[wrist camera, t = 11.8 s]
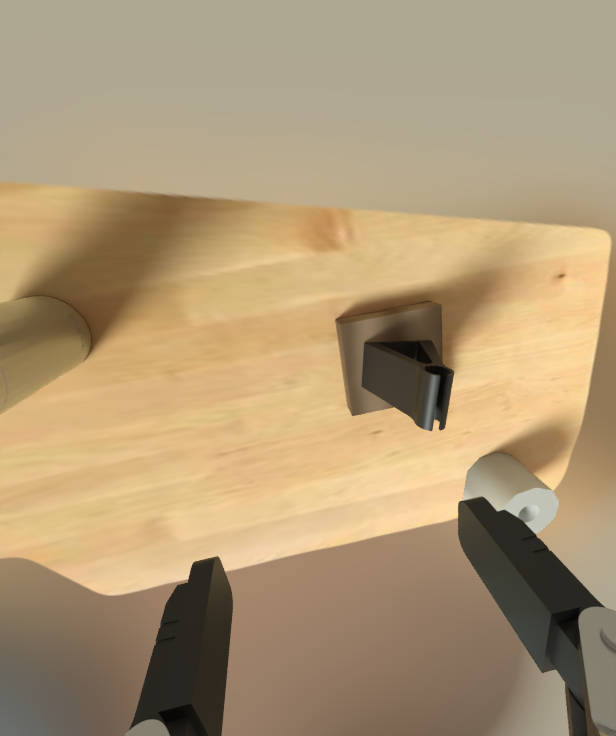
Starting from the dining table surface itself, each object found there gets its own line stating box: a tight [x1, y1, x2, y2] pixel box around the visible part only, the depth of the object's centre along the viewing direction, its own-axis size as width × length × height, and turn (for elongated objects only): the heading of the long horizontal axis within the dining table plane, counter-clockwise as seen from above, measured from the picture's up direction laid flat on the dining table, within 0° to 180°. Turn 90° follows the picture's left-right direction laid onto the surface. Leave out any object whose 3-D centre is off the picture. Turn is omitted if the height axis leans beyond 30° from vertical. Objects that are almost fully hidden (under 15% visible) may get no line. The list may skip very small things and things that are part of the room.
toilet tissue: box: [463, 452, 559, 533], centre depth 53 cm, size 9×13×9 cm
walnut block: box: [335, 301, 442, 416], centre depth 45 cm, size 13×13×3 cm
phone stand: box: [361, 340, 454, 431], centre depth 38 cm, size 9×6×12 cm, turn 89°
